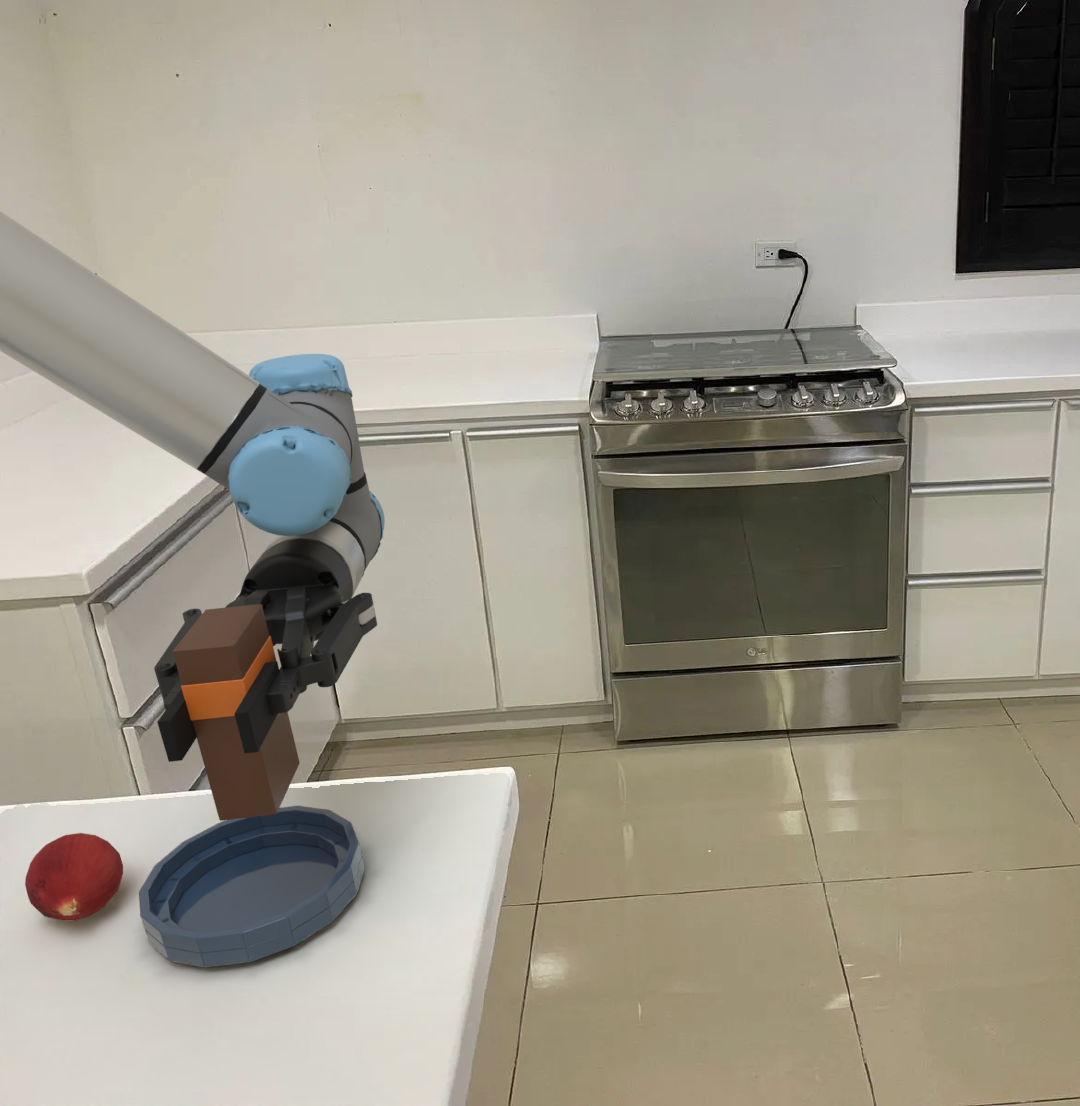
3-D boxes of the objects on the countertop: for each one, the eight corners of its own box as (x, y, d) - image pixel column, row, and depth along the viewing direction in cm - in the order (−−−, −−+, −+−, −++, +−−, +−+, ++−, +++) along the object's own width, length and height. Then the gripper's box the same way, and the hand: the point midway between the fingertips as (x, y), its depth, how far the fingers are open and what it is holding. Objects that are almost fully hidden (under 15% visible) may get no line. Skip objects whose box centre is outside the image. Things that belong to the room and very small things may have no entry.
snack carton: (218, 821, 68) (170, 651, 63) (246, 768, 73) (204, 608, 69) (277, 814, 68) (234, 645, 64) (301, 762, 74) (263, 603, 69)
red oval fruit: (70, 892, 80) (51, 965, 73) (17, 840, 77) (-8, 911, 70) (144, 850, 81) (133, 918, 74) (95, 797, 78) (78, 863, 71)
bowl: (116, 986, 70) (103, 949, 69) (192, 850, 83) (182, 818, 82) (341, 958, 71) (332, 922, 70) (380, 829, 84) (374, 796, 83)
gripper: (420, 613, 87) (365, 775, 65) (205, 635, 85) (76, 808, 64) (405, 526, 84) (342, 665, 62) (182, 547, 82) (38, 696, 61)
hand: (208, 736), depth 63 cm, fingers closed on snack carton, 4 cm apart
